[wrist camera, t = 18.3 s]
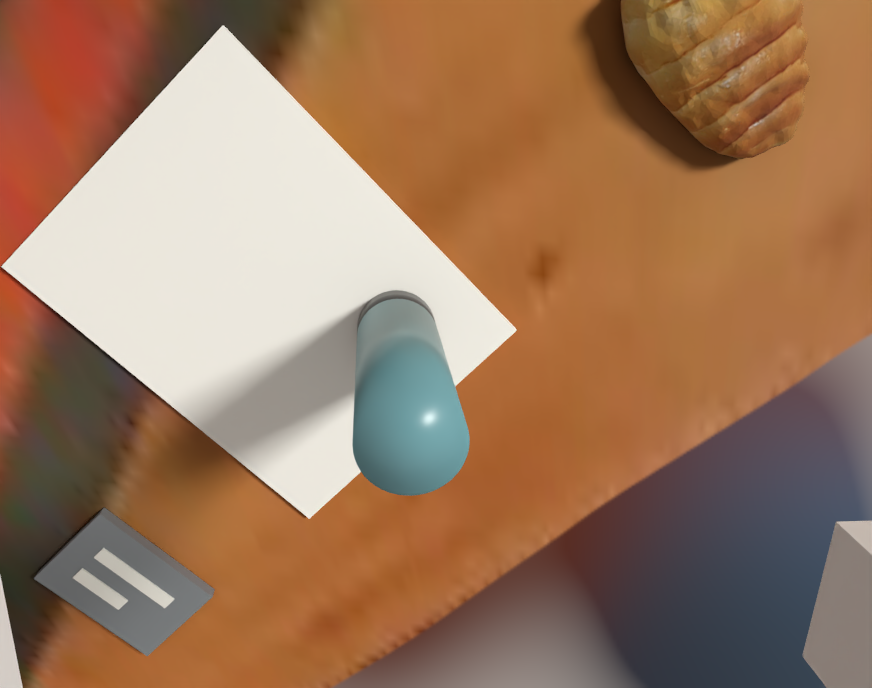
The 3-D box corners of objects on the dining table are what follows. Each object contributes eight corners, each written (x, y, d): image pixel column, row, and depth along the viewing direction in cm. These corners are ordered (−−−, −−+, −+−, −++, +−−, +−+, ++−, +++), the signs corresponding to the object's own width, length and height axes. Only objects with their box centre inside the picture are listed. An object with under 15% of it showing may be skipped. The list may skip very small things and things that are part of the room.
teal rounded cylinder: (340, 328, 34) (327, 445, 22) (396, 274, 33) (412, 365, 22) (396, 379, 35) (410, 516, 23) (451, 327, 34) (493, 442, 23)
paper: (4, 265, 32) (1, 266, 31) (224, 25, 29) (222, 25, 29) (309, 515, 37) (309, 518, 37) (515, 328, 35) (516, 330, 34)
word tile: (38, 570, 36) (32, 579, 36) (104, 507, 36) (99, 515, 35) (150, 647, 39) (146, 657, 38) (214, 589, 38) (212, 598, 37)
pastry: (821, 103, 33) (876, 105, 29) (690, 190, 34) (729, 202, 30) (732, -98, 30) (781, -123, 26) (591, 2, 31) (620, -10, 27)
